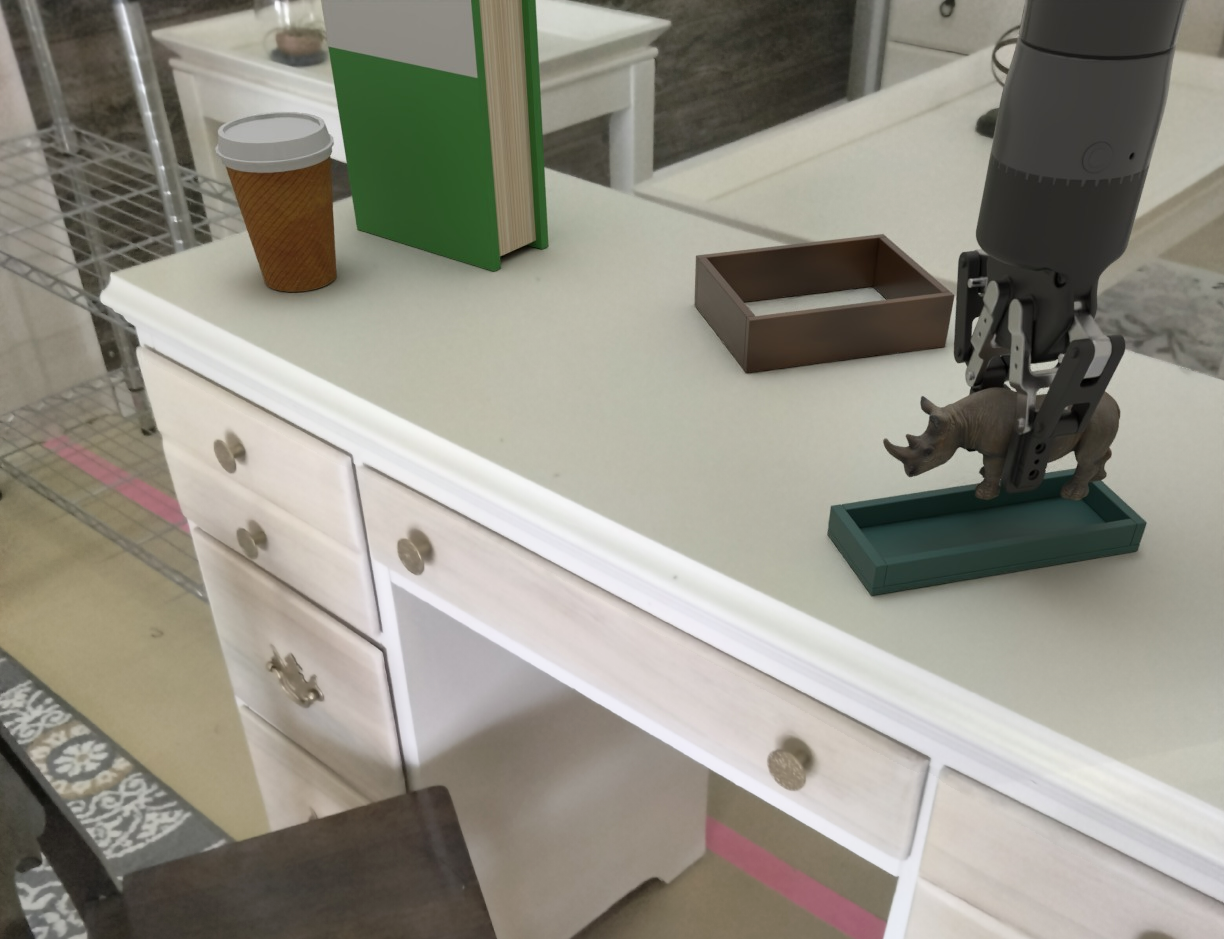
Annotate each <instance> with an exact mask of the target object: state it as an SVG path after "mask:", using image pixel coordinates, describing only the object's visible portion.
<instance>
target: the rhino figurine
mask: <svg viewBox="0 0 1224 939" xmlns="http://www.w3.org/2000/svg"><path fill="white" fill-rule="evenodd" d="M1046 394H1047V393H1042V394H1036V404H1035V410H1036V409H1040V407H1041V405H1042V403H1043V401H1044V399H1045V397H1046ZM1016 395H1017V392H1016V390H1013V389H1011V390H1009V389H1005V388H997V387H996V388H988V389H984V390H981V391H978V392H975V393H972V394H970V395H969V394H968V395H967V396H966V395H965V397H962V398H960V399H959V400H957V401H955V402H953V403H949V404H947V405H945V406H943V407H940V406H937V405H936V404H935V403H933V402H932V401H931V400H930V399H928V398H927V397H926V396H924V395H921V396H920V400H919V403H920V409H921V410H922V412H923V413H925V414H926V415H928V423H927V426H926V429H925V430H924V432H923V433H921V434H920V435H915V434H914V435H913V434H909V433H906V434H905V438H906V441H907V443H908V445H907V446H901V445H895V444H893V443H892V442H890V440H889V439H888V438H887V437H885V438H883V440H882V443H883V446H884V448H885V450H886V452H887V453H888V454H889V455H890V456H892V457H893V458H895V459H896V460H897V461H899V462H901V464H902V465H903V469H904V473H905V475H906V476H907V477H908V478H913V477H918V476H920V475H922V474H924V473H926V472H927V473H928V472H929V471H931V470H934V469H936V468H938V467H940V466H942V465H944V464H947V462H949V460H951V459H952V458H953V456H954V455H955V454H956V452H957V450H958V449H960V448H961V449H963V450H966V449H967V448H969V449H975V450H977V451H976V452H977V453H979V454H981V455H982V467H980V468H979V471H978V473H979V475H981V477H982V479H983V480H982V481H980V482H978V483H979V484H978V485H977V486H976V488H975V491H976V493H975V496H976V497H977V498H979V499H986V500H990V499H992V498H994V497H997V496H998V495H999V493H1000V486H999V482H1000V480H1001V476H1002V472H1003V468H1004V463H1005V459H1006V455H1007V451H1008V446H1009V442H1010V438H1011V433H1012V429H1013V428H1015V411H1016ZM1072 406H1073V405H1069V406H1068V410H1071V408H1072ZM1120 419H1121V408H1120V406H1119V403H1118V402H1117V400H1116V399H1115V398H1114V397H1113V396H1112V395H1110V394H1109V393H1108V392H1107V391H1105V392H1104V394H1103V396H1102V398H1101V400H1100V402H1099V404H1098V406H1097V408H1096V410H1095V412H1094V413H1093V415H1092V417H1091V419H1090V421H1089V423H1088V425H1087V427H1086V429H1085V431H1084V432H1082V433H1077V434H1070V435H1063V436H1056V437H1055V438H1054V441H1053V445H1052V448H1051V452H1050V456H1049V460H1048V462H1047V464H1050V463H1053V462H1056V461H1058V460H1060V459H1062V458H1064V457H1065V456H1067V455H1069V454H1071V453H1072V452H1073V454H1074V457H1075V461H1076V462H1077V463H1076V467H1075V468H1076V470H1075V472H1074V474H1073V476H1072V478H1071V479H1070V480H1069V481H1068V482H1067V483H1065V484H1064V486H1063V487H1062V488H1061V491H1060V495H1061V497H1063V498H1065V499H1072V500H1080V499H1082V498H1083V497H1085V496H1087V494H1088V492H1089V487H1088V482H1095V481H1103V480H1105V479H1106V478H1107V475H1108V474H1107V471H1106V468H1105V467H1106V463H1107V462H1108V461H1109V460H1110V459H1111V458H1112V455H1113V452H1112V449H1111V448H1110V447H1111V446H1112V444H1113V443H1114V441H1115V439H1116V437H1117V434H1118V431H1119V428H1120Z"/></svg>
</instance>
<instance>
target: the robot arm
mask: <svg viewBox="0 0 1224 939" xmlns="http://www.w3.org/2000/svg"><path fill="white" fill-rule="evenodd" d="M1189 1H1190V0H1024V5H1023V9H1022V15H1021V20H1020V25H1019V31H1018V37H1017V39H1016V43H1015V48H1014V51H1013V55H1012V58H1011V62H1010V64H1009V68H1008V70H1007V74H1006V76H1005V77H1006V78H1005V80H1004V84H1003V88H1002V92H1001V97H1000V102H999V106H998V110H997V111H998V112H997V117H996V120H995V127H994V132H993V138H992V142H991V148H990V153H989V159H988V164H987V170H986V176H985V181H984V186H983V191H982V197H981V201H980V206H979V207H980V208H979V213H978V217H977V223H976V229H975V239H976V242H977V244H978V247H979V249H974V250H969V251H962V252H961V253H960V254H959V257H958V262H957V278H956V279H957V281H956V297H955V320H954V339H953V341H954V342H953V358H954V361H955V363H957V364H965V365H966V366H965V367H966V368H965V373H964V379H965V382H966V385H967V386H968V387H969V394H968V395H970V394H972V393H975V392H978V391H981V390H984V389H988V388H996V387H997V388H1005V389H1009V390H1012V389H1014V391H1015V392H1017V395H1016V411H1015V428H1013V429H1012V433H1011V438H1010V442H1009V446H1008V451H1007V455H1006V459H1005V463H1004V468H1003V472H1002V476H1001V481H1000V485H1001V486H1002V487H1003V488H1004V489H1005V491H1006V492H1007V493H1009V494H1013V493H1019V492H1026V491H1032V490H1035V489H1036V488H1037V487H1038V486H1039V485H1040V484H1041V482H1042V481H1043V479H1044V475H1045V473H1046V472H1047V471H1046V469H1047V467H1048V463H1047V462H1048V460H1049V456H1050V452H1051V448H1052V445H1053V441H1054V438H1055V437H1056V436H1063V435H1070V434H1077V433H1082V432H1084V431H1085V429H1086V427H1087V425H1088V423H1089V421H1090V419H1091V417H1092V415H1093V413H1094V412H1095V410H1096V408H1097V406H1098V404H1099V402H1100V400H1101V398H1102V396H1103V394H1104V392H1106V390H1107V388H1108V386H1109V384H1110V381H1111V380H1112V379H1113V376H1114V374H1115V372H1116V370H1117V368H1118V366H1119V364H1120V362H1121V361H1122V358H1123V357H1124V354H1125V352H1126V341H1125V340H1126V339H1125V337H1124V336H1123V335H1122V334H1121V333H1116V334H1115V333H1114V334H1107V335H1105V334H1104V333H1103V331H1102V329H1101V328H1100V326H1099V325H1098V323H1097V322H1096V320H1095V318H1096V315H1097V312H1098V287H1099V280H1100V277H1101V275H1102V274H1103V273H1104V272H1105V270H1107V268H1109V267H1110V266H1111V265H1112V264H1113V263H1115V262H1116V261H1117V260H1119V259H1120V258H1121V257H1122V256H1123V255H1124V253H1125V252H1126V250H1127V247H1128V245H1129V242H1130V238H1131V234H1132V230H1133V228H1134V224H1135V220H1136V217H1137V212H1138V209H1139V205H1140V202H1141V199H1142V194H1143V191H1144V188H1145V184H1146V181H1147V176H1148V173H1149V169H1150V166H1151V161H1152V157H1153V153H1154V150H1155V147H1156V143H1157V140H1158V136H1159V132H1160V129H1161V125H1162V122H1163V118H1164V114H1165V110H1166V106H1167V102H1168V98H1169V97H1168V96H1169V91H1170V86H1171V85H1170V84H1171V76H1172V70H1173V64H1174V58H1175V54H1176V49H1177V44H1178V41H1179V38H1180V35H1181V34H1180V33H1181V31H1182V26H1183V24H1184V19H1185V16H1186V11H1187V8H1188V4H1189ZM976 318H977V321H976V325H975V327H974V329H973V322H974V320H975V319H976ZM1055 361H1057V363H1056V365H1055V366H1054V367H1051V368H1047V369H1038V370H1032V368H1031V365H1038V364H1043V363H1050V362H1055ZM1006 383H1009V385H1007V384H1006ZM1009 386H1010V387H1009ZM1046 388H1048V390H1047V392H1046V393H1045V394H1046V397H1045V399H1044V401H1043V403H1042V405H1041V407H1040V409H1036V410H1035V404H1036V395H1037V393H1038V392H1039V391H1040V390H1041V389H1046ZM1069 405H1073V406H1072V408H1071V410H1068V406H1069ZM965 450H966V451H967V452H969V453H972V452H978V451H977V450H975V449H969V448H967V449H965Z"/></svg>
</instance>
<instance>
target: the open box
mask: <svg viewBox="0 0 1224 939" xmlns="http://www.w3.org/2000/svg"><path fill="white" fill-rule="evenodd" d="M694 270H695V272H694V274H695V275H694V300H693V301H694V304H693V305H694V306H695V308H696V309H697V310H698V312H699V313H700V314H701V315H702V317H703V318H704V319H705V321H706V322H707V323H708V325H709V326H710V328H711V329H712V330H713V331H714V332H715V335H717V337H718V338H719V339H720V340H721V342H722V343H723V344H724V346H725V347H726V348H727V350H728V351H729V352H730V353H731V355H732V356H733V357H734V359H735V361H736V362H737V363H738V364H739V365H740V367H741V369H743V371H744V372H745V373H747V374H748V373H756V372H763V371H770V370H778V369H785V368H786V369H787V368H795V367H801V366H810V365H815V364H823V363H832V362H839V361H847V360H854V359H863V358H868V356H870V357H876V356H875V355H877V356H884V355H883V354H885V355H890V354H889V353H893V354H898V353H897V352H899V353H907V352H915V351H922V350H929V349H936V348H937V349H938V348H944V347H946V346H947V339H948V334H949V328H950V323H951V317H952V312H953V308H954V307H953V306H954V301H955V294H954V293H953V292H952V291H950V290H949V289H948V288H947V287H946V286H944V285H943V284H942V283H941V282H940V281H939V280H938V279H937V278H935V277H934V276H933V275H932V274H930V272H928V271H927V270H926V269H925V268H924V267H922V266H921V265H920V264H919V263H918V262H916V261H915V260H914V259H913V257H912V256H911V257H910V255H909V254H907V253H906V252H905V251H904V250H903V249H902V248H900V247H899V246H898V245H897V244H895V243H894V241H893V240H891V239H890V238H889V237H887V235H885V234H884V233H879V234H871V235H862V236H853V237H846V238H845V237H843V238H835V239H827V240H818V241H810V242H801V243H792V244H784V245H775V246H767V247H758V248H750V249H739V250H731V251H723V252H714V253H705V254H697V255H695V269H694ZM870 287H873V288H874V289H875V290H876V291H877V292H878V293H880V294H881V296H883V297H884V298H885V299H882V300H875V301H874V300H873V301H866V302H858V303H849V304H842V305H835V306H834V305H833V306H825V307H818V308H809V309H801V310H794V311H793V310H792V311H786V312H785V311H784V312H777V313H769V314H762V315H761V314H760V315H755V314H754V313H753V311H752V310H751V309H750V308H749V306H748V305H747V304H746V303H747V302H755V301H764V300H772V299H779V298H787V297H788V298H789V297H796V296H803V295H813V294H821V293H822V294H823V293H831V292H837V291H844V290H845V291H847V290H852V289H853V290H854V289H861V288H870ZM881 354H882V355H881Z"/></svg>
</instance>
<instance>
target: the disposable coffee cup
mask: <svg viewBox="0 0 1224 939" xmlns="http://www.w3.org/2000/svg"><path fill="white" fill-rule="evenodd" d="M334 145H335V140H334V137H333V136H332V135H331V133H329V130H328V128H327V125H326V123H325V120H324V119H323V118H322V117H320V116H317V115H315V114H310V113H307V112H306V113H305V112H301V111H300V112H298V111H269V112H262V113H255V114H249V115H244V116H242V117H241V116H240V117H237V118H235V119H232V120H229V121H226V122H225V123H223V124H221V126H219V127H218V130H217V144H216V146H215V153H216V156H217V157H218V158H220V161H221V164H222V165H224V166H225V169H226V172H227V176H228V179H229V180H230V181H229V182H230V184H231V186H232V189H233V193H234V196H235V199H236V201H237V204H238V207H239V210H240V213H241V216H242V219H243V223H244V225H245V228H246V231H247V234H248V237H249V241H250V243H251V246H252V248H253V252H254V254H255V257H256V260H257V263H258V266H259V269H260V272H261V275H262V278H263V281H264V284H265V286H266V287H268V288H270V289H271V290H276V291H280V292H287V293H289V292H290V293H291V292H308V291H313V290H318V289H320V288H322V287H326V286H328V285H330V284H331V283H332V282H334V281H335V280H336V278H337V276H338V273H337V272H338V271H337V256H336V237H335V220H334V218H335V217H334V201H333V199H334V198H333V196H334V195H333V183H332V182H333V180H332V161H331V155H332V154H333V147H334Z"/></svg>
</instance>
